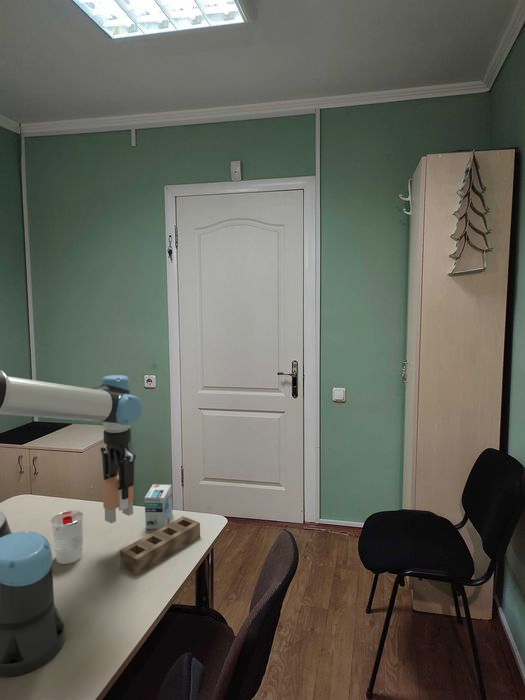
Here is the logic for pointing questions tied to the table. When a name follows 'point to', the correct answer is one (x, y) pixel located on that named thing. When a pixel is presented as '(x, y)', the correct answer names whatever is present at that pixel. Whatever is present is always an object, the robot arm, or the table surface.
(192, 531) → the brown long block
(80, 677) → the table surface
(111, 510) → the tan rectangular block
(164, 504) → the light bulb box
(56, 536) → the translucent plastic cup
